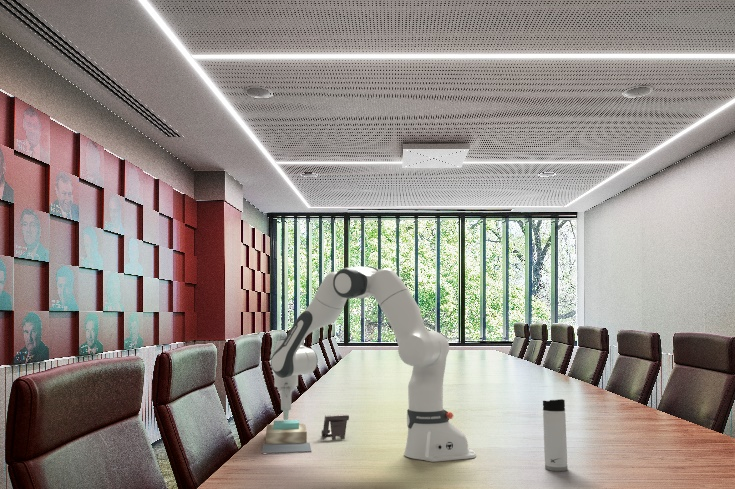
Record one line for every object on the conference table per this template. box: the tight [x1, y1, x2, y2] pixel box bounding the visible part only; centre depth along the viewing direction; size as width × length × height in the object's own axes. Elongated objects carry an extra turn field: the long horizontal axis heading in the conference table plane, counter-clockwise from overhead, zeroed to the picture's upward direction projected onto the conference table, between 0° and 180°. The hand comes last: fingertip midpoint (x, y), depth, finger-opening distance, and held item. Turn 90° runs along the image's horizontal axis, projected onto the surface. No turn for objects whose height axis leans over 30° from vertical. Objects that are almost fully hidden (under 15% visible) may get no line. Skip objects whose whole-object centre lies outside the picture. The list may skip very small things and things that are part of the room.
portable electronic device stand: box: [321, 413, 350, 441], centre depth 225 cm, size 9×8×8 cm
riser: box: [265, 423, 308, 444], centre depth 221 cm, size 14×16×4 cm
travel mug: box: [542, 398, 569, 472], centre depth 179 cm, size 6×7×20 cm
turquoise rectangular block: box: [273, 419, 300, 430], centre depth 223 cm, size 9×6×2 cm, turn 98°
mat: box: [261, 442, 312, 454], centre depth 207 cm, size 16×13×1 cm
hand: (285, 419), depth 231 cm, fingers closed
